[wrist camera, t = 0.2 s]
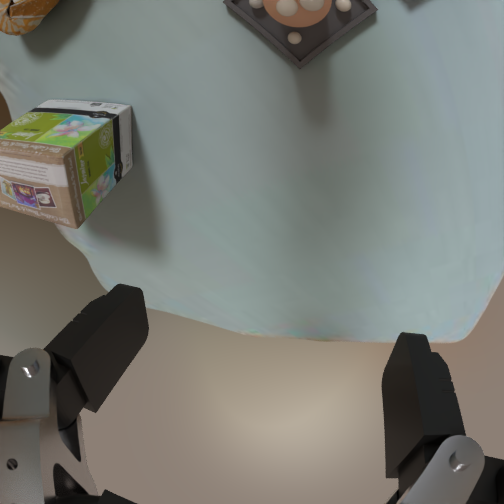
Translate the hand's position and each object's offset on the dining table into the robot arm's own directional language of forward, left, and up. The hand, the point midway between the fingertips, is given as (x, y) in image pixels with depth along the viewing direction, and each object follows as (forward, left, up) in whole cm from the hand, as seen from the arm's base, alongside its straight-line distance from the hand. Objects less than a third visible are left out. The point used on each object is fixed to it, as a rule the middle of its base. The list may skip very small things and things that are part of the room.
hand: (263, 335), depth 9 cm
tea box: (-17, -25, -31) cm, 43 cm away
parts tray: (-7, +6, -30) cm, 32 cm away
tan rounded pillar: (-7, +6, -30) cm, 31 cm away
